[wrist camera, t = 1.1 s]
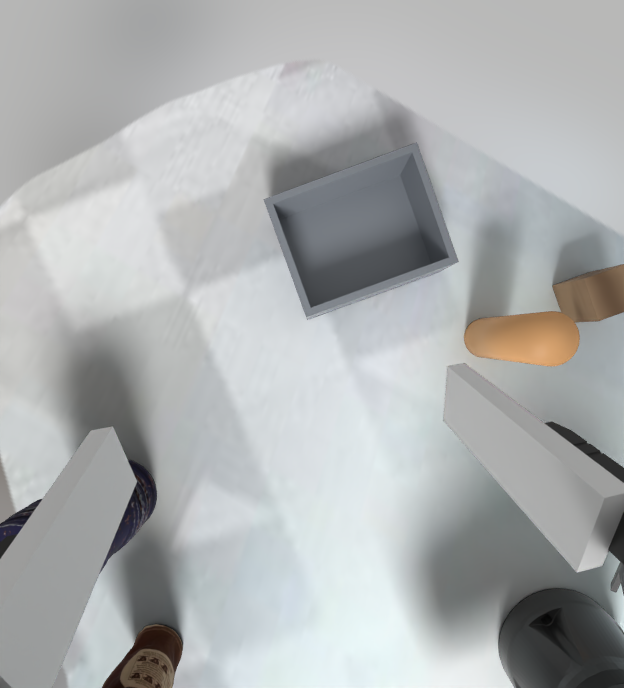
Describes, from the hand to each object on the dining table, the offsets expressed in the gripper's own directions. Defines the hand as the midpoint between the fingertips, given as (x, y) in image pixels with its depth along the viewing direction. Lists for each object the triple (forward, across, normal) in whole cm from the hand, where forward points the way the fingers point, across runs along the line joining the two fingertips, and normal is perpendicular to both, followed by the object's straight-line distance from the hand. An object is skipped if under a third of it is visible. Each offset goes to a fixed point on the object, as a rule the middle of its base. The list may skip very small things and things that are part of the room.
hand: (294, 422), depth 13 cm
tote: (+31, -12, -2) cm, 33 cm away
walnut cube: (+24, -38, +7) cm, 46 cm away
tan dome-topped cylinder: (+24, -26, +10) cm, 37 cm away
